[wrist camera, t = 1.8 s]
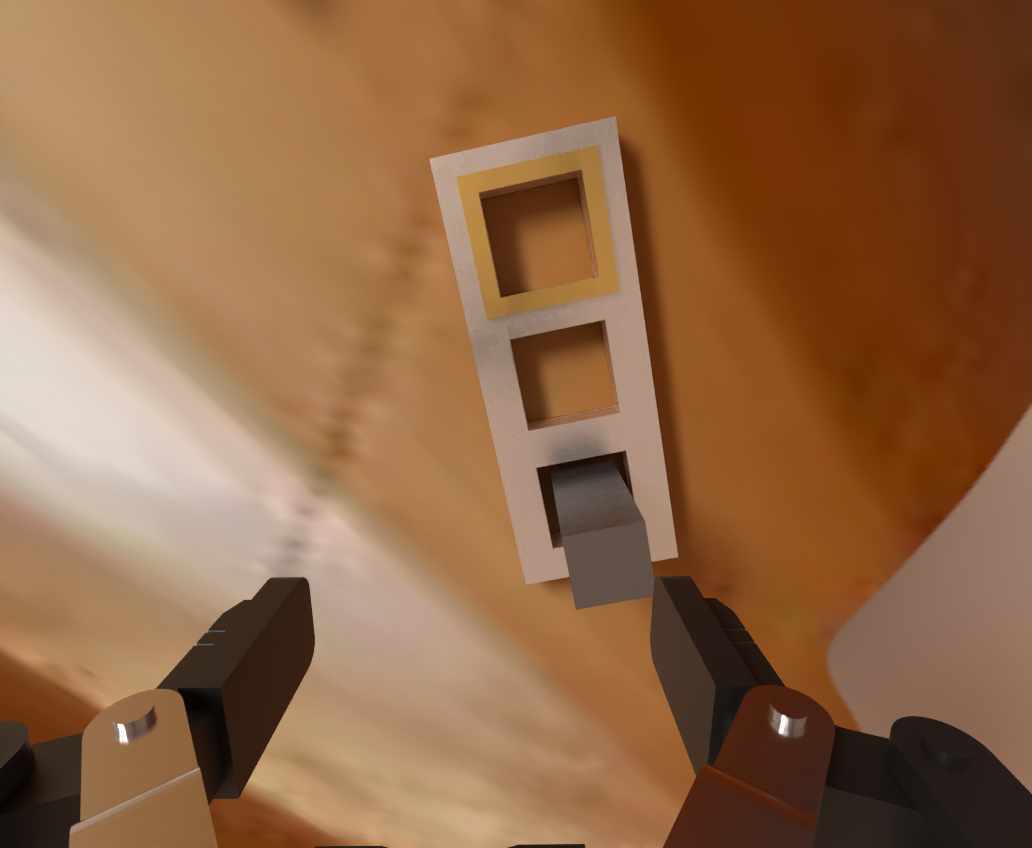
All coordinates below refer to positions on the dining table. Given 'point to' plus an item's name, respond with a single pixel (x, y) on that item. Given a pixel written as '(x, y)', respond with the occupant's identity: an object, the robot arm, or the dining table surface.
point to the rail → (600, 298)
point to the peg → (601, 533)
